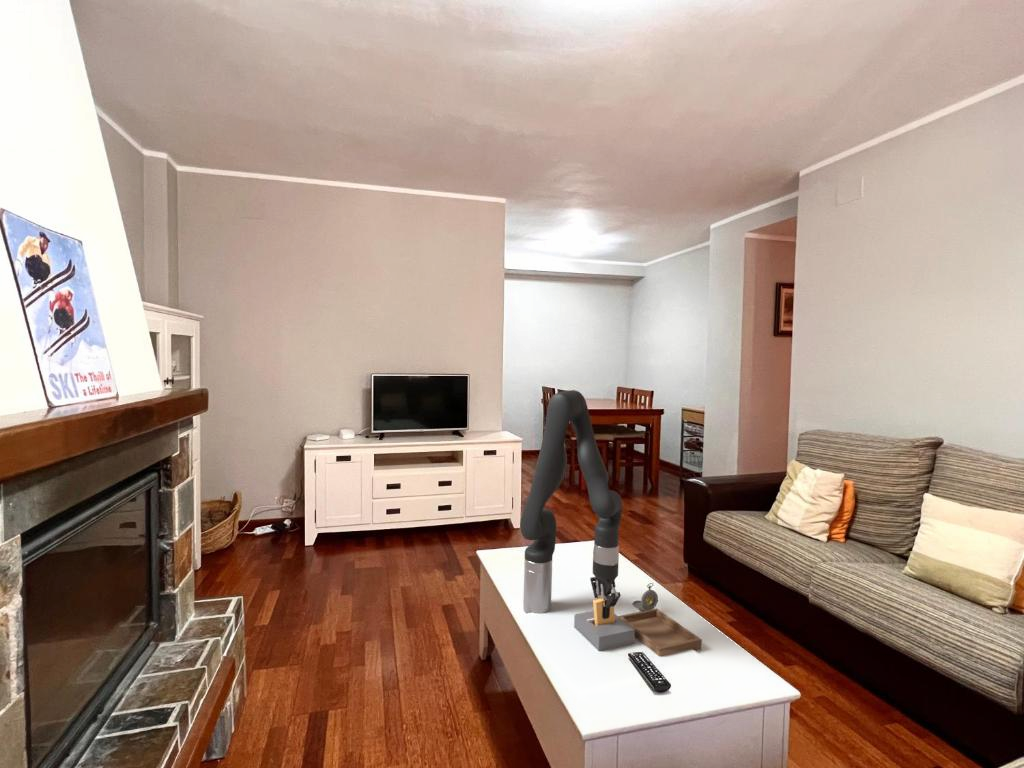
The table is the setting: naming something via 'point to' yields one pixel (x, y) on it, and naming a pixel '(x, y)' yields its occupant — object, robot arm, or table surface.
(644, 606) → the pocket watch
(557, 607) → the table surface
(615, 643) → the dispenser
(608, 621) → the yellow rectangular block
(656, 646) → the tray
